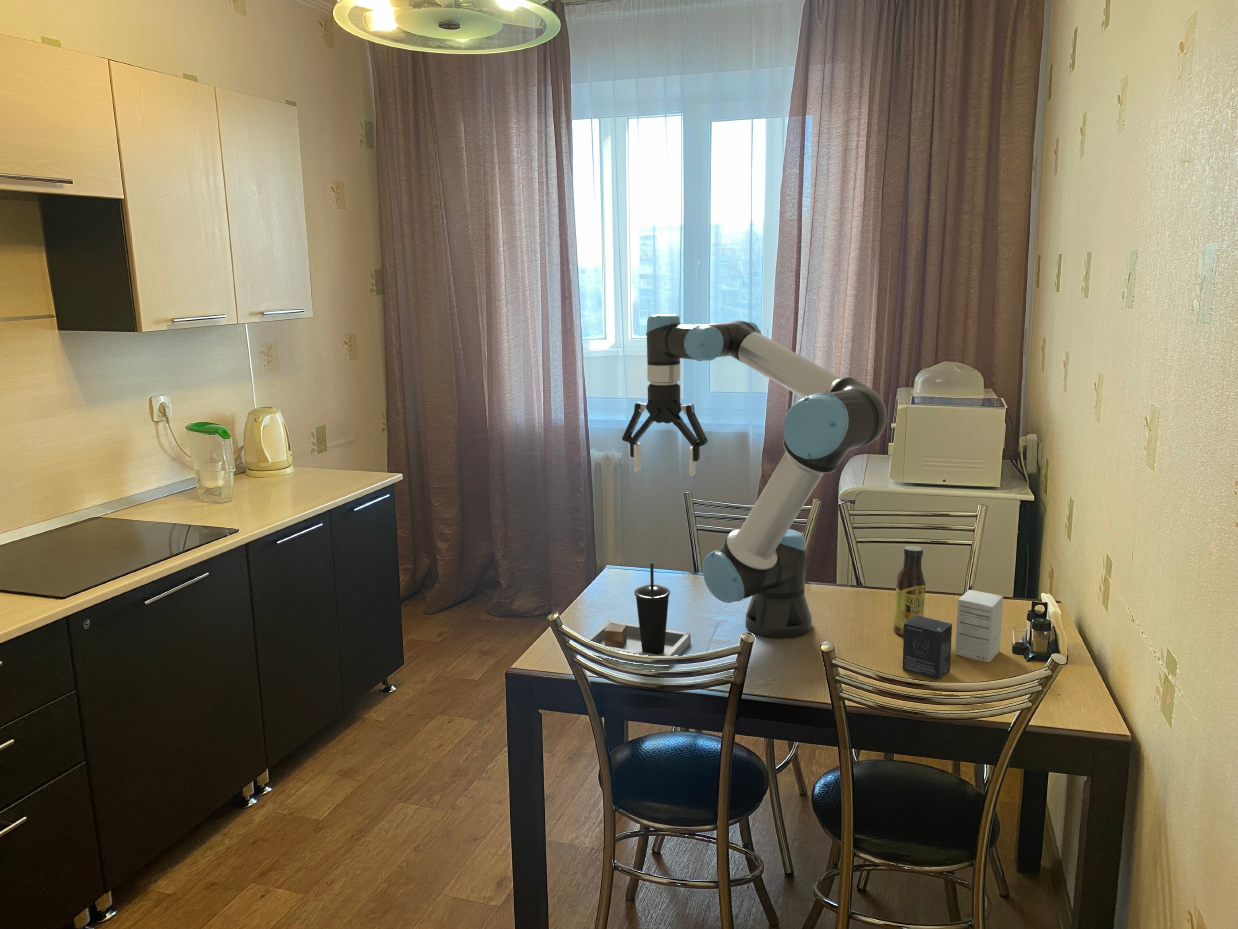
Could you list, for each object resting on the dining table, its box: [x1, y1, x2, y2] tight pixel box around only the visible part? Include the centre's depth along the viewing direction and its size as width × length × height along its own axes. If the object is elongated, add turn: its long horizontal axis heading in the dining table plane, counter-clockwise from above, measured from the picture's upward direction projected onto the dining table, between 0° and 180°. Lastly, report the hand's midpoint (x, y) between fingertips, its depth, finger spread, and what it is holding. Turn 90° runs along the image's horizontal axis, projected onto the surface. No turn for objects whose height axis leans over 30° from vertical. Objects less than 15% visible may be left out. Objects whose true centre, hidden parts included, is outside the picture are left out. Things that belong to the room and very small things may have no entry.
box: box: [902, 615, 953, 681], centre depth 183 cm, size 8×6×11 cm
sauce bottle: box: [893, 545, 927, 636], centre depth 201 cm, size 6×6×20 cm
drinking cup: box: [634, 562, 671, 655], centre depth 193 cm, size 8×8×20 cm
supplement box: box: [954, 589, 1004, 663], centre depth 191 cm, size 7×7×13 cm
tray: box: [586, 620, 692, 669], centre depth 197 cm, size 20×14×3 cm
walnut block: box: [604, 624, 627, 649], centre depth 199 cm, size 4×4×4 cm
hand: (664, 472), depth 211 cm, fingers open, 13 cm apart
